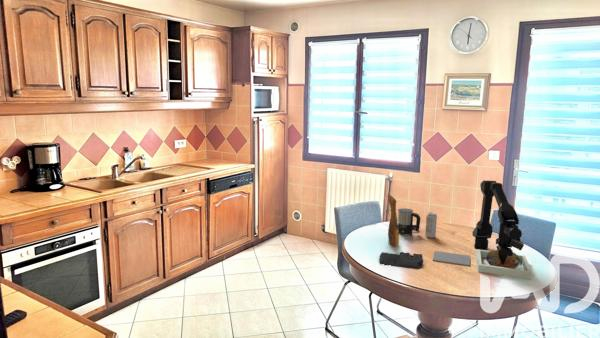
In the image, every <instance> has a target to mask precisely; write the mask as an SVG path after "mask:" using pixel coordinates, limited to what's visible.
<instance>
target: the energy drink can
mask: <svg viewBox="0 0 600 338" xmlns="http://www.w3.org/2000/svg"><path fill="white" fill-rule="evenodd" d="M437 219H438V215H437V213H436V212H433V211H428V212H427V214H426V219H425V234H424V235H425V237H426V236H427V237H426V238H428V237H429V239H434V238H435V237H436V235H437V234H436V233H437V222H438V220H437Z"/></svg>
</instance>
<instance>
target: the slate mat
mask: <svg viewBox="0 0 600 338" xmlns="http://www.w3.org/2000/svg"><path fill="white" fill-rule="evenodd" d="M432 262H439V263H445V264H451V265H452V264H453V265H458V266H463V267H464V266H465V267H471V257H470V255H467V254H459V253H453V252H447V251H445V252H444V251H439V250H434V251H433V256H432Z"/></svg>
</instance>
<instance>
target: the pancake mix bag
mask: <svg viewBox="0 0 600 338" xmlns="http://www.w3.org/2000/svg"><path fill="white" fill-rule="evenodd" d="M387 200H388V204H389V207H390V218H389V223H388V229H387V238H388V242H389V246H391V245H392V246H391V247H393V246H394V247H395V248H396V247H398V246H399V242H400V234H399V232H398V215H397V200H396V199H395V198H394V196H393V195H391V194H390V193H388V194H387ZM394 247H393V248H394Z"/></svg>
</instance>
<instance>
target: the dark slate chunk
mask: <svg viewBox="0 0 600 338" xmlns="http://www.w3.org/2000/svg"><path fill="white" fill-rule="evenodd" d="M378 262H379V264H380V265H381V264H384V265H383V266H389V265H391V267H397V268H406V269H413V270H414V269H415V270H420V269H423V266H424V265H423V264H424V258H423V254H422V253H420V254H419V253H415V252H414V253H413V254H410V252H404V251H400V252H399V253H393V252H392V253H391V252H390V253H389V252H385V251H382V252H381V253H380V254H379V258H378Z"/></svg>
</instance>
